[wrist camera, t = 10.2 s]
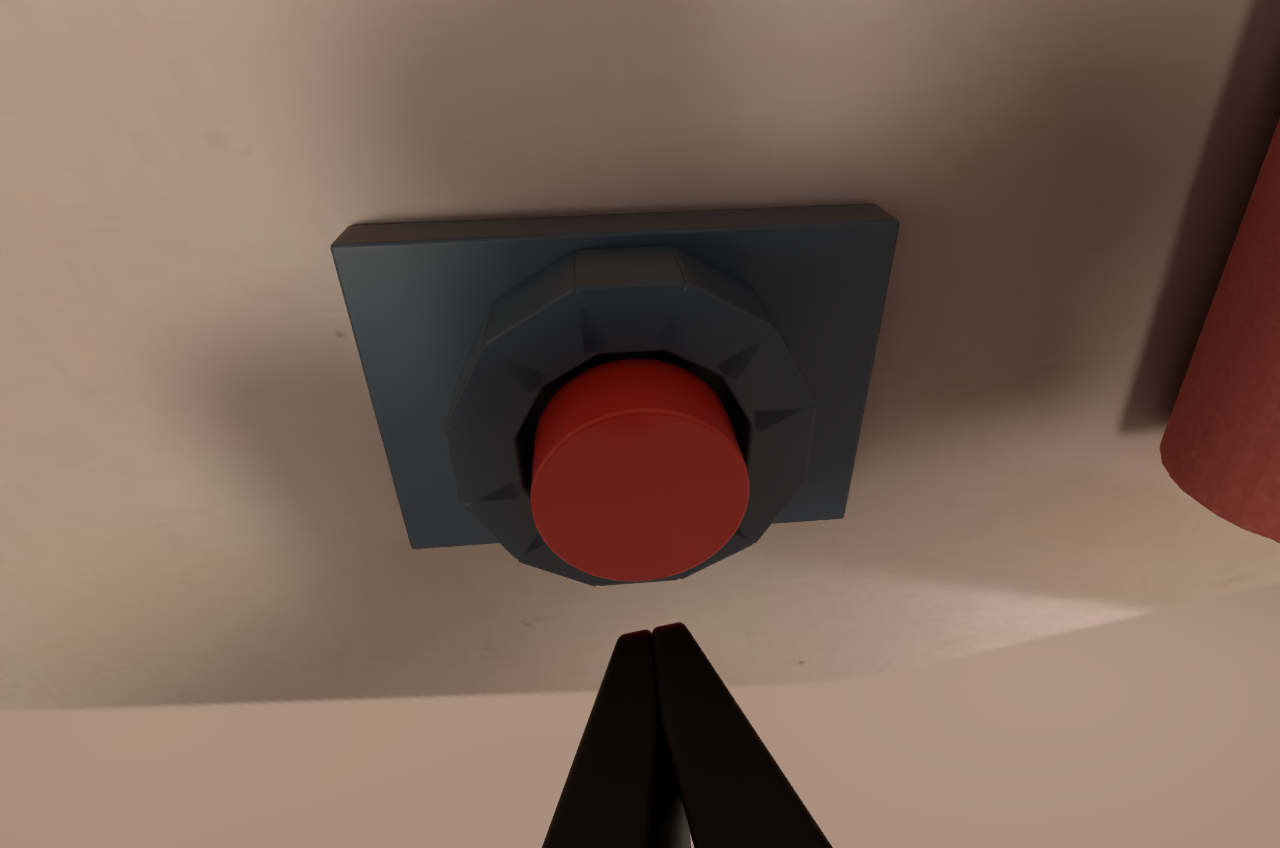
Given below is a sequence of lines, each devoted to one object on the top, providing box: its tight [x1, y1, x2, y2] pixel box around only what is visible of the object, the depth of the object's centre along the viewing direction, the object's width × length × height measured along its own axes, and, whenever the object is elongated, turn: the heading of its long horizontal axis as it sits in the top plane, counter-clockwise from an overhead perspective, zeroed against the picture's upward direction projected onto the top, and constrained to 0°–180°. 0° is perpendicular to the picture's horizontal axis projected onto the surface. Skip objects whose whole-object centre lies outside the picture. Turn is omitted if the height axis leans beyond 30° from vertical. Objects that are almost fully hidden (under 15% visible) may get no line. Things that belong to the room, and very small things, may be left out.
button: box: [530, 358, 750, 582], centre depth 12 cm, size 4×4×2 cm
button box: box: [331, 204, 899, 586], centre depth 13 cm, size 10×7×3 cm
